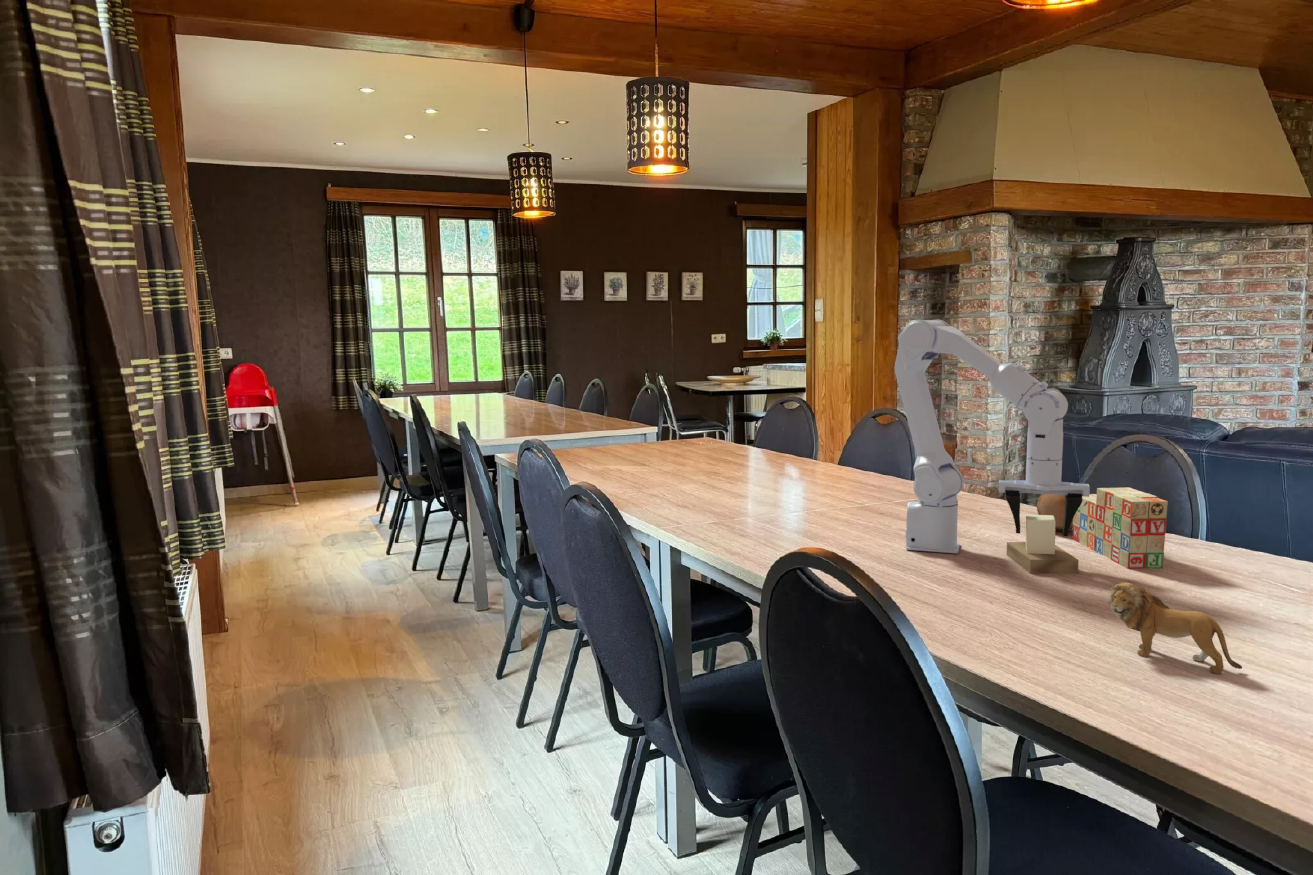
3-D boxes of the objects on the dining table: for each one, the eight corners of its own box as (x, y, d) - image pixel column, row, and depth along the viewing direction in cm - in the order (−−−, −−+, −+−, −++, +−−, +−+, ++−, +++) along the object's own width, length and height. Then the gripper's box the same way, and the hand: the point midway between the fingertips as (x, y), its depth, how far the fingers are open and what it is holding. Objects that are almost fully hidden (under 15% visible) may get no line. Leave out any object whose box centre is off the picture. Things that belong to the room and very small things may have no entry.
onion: (1078, 526, 177) (1080, 479, 175) (1093, 536, 167) (1095, 487, 166) (1030, 525, 178) (1032, 479, 177) (1043, 535, 169) (1044, 487, 168)
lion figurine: (1102, 652, 108) (1105, 585, 107) (1111, 640, 112) (1114, 575, 111) (1240, 679, 99) (1245, 606, 98) (1243, 665, 103) (1248, 595, 102)
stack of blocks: (1071, 539, 166) (1073, 478, 165) (1102, 539, 166) (1105, 478, 164) (1127, 569, 145) (1131, 500, 143) (1164, 569, 145) (1168, 499, 143)
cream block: (1026, 553, 147) (1027, 519, 147) (1025, 546, 151) (1025, 514, 151) (1054, 554, 146) (1055, 520, 145) (1052, 548, 150) (1053, 515, 149)
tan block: (1029, 576, 143) (1030, 559, 143) (1006, 557, 155) (1006, 542, 155) (1077, 576, 143) (1078, 559, 142) (1050, 558, 155) (1051, 542, 154)
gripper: (999, 460, 146) (997, 535, 147) (1092, 463, 140) (1089, 542, 142) (999, 454, 152) (997, 527, 154) (1088, 457, 147) (1085, 532, 148)
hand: (1041, 533), depth 148 cm, fingers open, 7 cm apart
